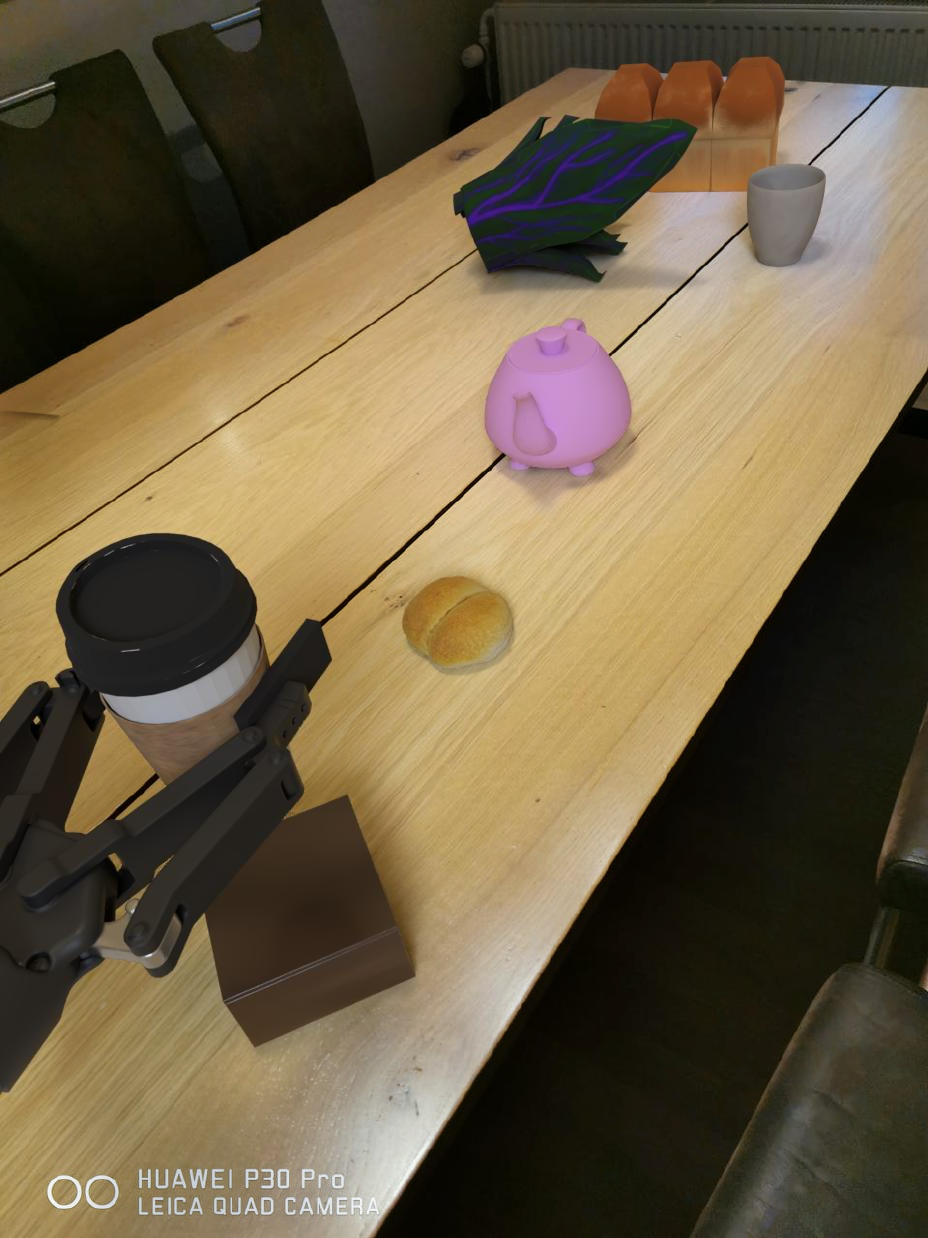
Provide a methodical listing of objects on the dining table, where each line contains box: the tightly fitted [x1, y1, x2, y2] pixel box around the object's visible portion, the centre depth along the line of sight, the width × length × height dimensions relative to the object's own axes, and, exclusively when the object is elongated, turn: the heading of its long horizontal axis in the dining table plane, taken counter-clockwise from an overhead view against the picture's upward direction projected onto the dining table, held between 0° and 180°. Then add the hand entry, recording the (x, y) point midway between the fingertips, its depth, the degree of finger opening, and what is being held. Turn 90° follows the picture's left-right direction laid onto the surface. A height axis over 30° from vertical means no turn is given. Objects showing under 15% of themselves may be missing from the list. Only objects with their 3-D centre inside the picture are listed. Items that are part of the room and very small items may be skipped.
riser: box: [204, 793, 416, 1048], centre depth 57 cm, size 10×10×6 cm
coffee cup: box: [55, 532, 296, 787], centre depth 46 cm, size 8×8×15 cm
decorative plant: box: [452, 114, 698, 283], centre depth 118 cm, size 21×26×30 cm
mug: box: [746, 163, 827, 267], centre depth 117 cm, size 12×9×10 cm
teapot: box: [483, 317, 633, 477], centre depth 90 cm, size 20×14×12 cm
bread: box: [593, 56, 786, 193], centre depth 137 cm, size 25×12×15 cm, turn 71°
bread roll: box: [401, 575, 514, 670], centre depth 76 cm, size 8×9×4 cm
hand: (249, 624), depth 48 cm, fingers closed on coffee cup, 8 cm apart
